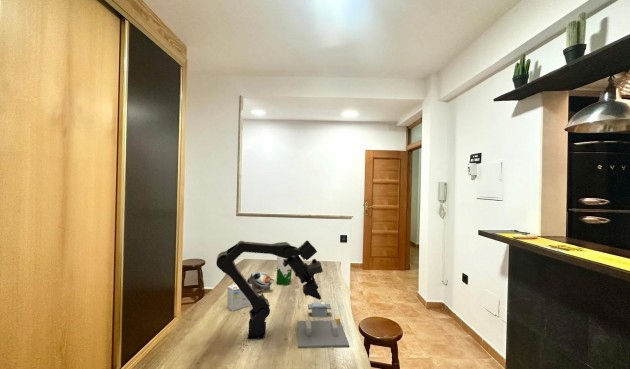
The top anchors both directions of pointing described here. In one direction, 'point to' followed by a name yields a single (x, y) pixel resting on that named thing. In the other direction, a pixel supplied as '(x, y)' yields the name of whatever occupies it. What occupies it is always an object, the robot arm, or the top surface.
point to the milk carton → (283, 272)
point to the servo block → (319, 309)
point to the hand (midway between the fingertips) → (319, 293)
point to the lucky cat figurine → (260, 281)
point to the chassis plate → (321, 334)
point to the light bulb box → (236, 298)
